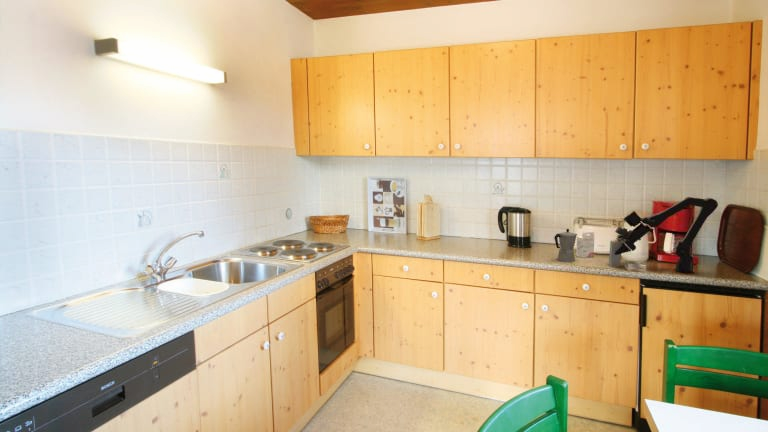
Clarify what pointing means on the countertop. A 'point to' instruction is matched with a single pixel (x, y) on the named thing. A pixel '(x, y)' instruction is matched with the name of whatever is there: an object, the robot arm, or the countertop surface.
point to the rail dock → (634, 266)
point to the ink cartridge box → (585, 245)
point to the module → (614, 259)
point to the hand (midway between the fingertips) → (613, 252)
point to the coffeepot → (566, 246)
